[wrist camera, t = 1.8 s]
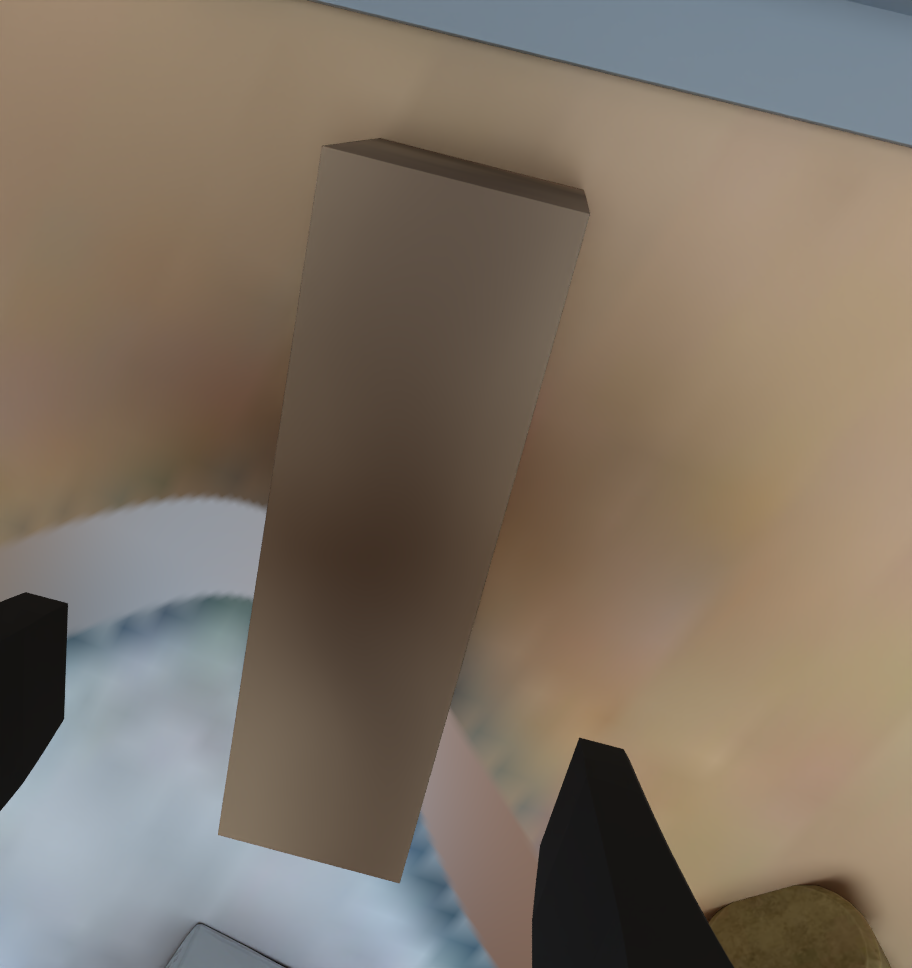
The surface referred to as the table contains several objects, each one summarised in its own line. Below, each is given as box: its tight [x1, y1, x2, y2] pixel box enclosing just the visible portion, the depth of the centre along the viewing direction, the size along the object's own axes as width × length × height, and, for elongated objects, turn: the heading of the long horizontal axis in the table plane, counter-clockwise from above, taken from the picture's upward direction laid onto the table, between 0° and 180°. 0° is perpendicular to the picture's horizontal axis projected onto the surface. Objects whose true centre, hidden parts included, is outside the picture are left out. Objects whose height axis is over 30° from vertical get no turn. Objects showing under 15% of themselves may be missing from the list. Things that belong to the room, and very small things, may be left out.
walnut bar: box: [218, 138, 590, 883], centre depth 17 cm, size 4×14×4 cm, turn 167°
